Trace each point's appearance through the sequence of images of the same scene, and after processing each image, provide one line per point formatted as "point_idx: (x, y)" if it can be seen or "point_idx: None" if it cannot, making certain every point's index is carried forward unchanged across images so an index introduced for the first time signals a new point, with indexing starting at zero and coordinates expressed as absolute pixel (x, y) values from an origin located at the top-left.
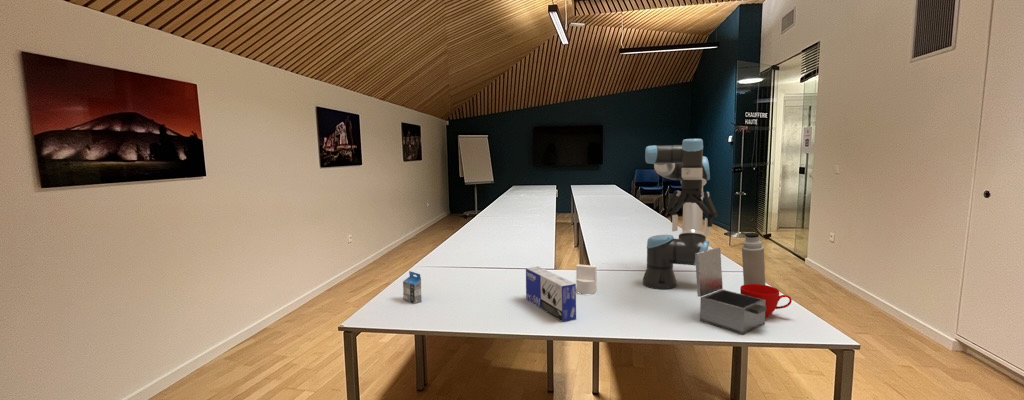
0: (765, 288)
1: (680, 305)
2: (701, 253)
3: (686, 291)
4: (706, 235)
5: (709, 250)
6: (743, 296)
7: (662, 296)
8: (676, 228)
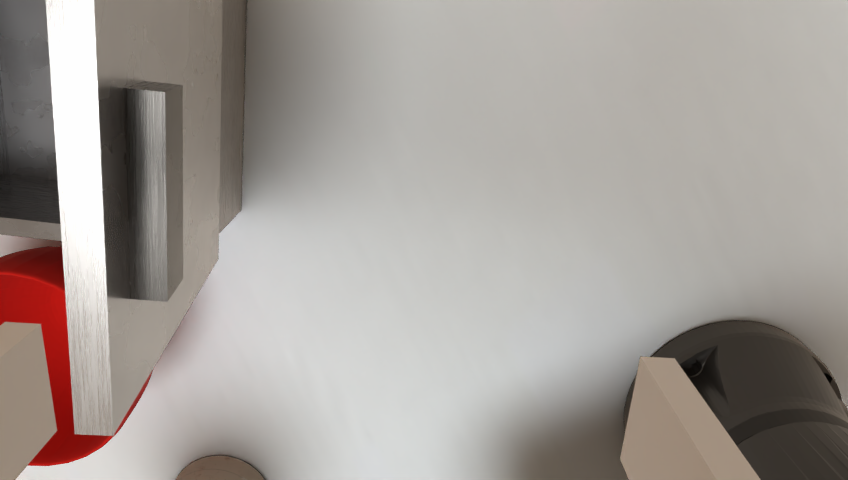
0: (48, 449)
1: (457, 150)
2: (51, 20)
3: (542, 395)
4: (5, 324)
5: (69, 228)
6: (43, 219)
7: (613, 225)
8: (638, 460)
